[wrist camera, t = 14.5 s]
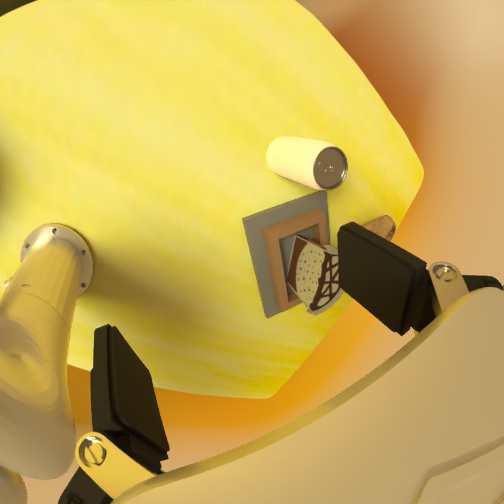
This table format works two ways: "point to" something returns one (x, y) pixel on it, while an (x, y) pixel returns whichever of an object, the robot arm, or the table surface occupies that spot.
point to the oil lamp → (382, 227)
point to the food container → (314, 274)
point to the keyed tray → (283, 245)
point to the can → (308, 162)
